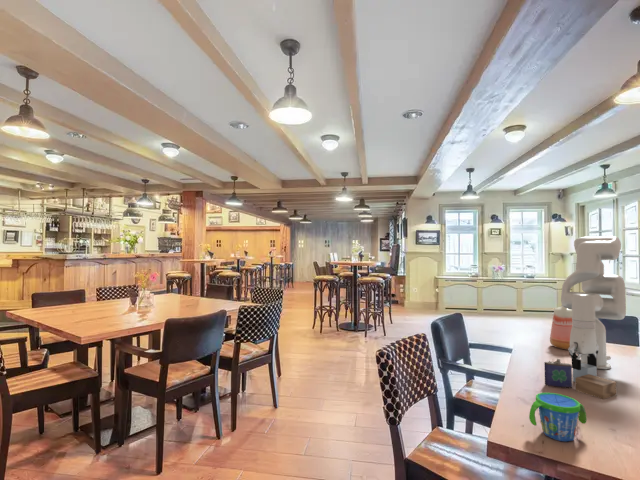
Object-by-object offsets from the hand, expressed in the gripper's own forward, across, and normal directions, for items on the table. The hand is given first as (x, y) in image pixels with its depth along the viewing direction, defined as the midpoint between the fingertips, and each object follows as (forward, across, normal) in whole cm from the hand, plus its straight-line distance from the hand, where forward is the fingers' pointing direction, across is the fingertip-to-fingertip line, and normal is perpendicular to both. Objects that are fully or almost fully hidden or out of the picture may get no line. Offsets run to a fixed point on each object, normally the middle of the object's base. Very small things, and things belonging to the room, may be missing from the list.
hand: (584, 368), depth 142 cm
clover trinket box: (+7, +13, -2) cm, 15 cm away
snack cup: (+8, +51, +24) cm, 57 cm away
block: (+6, +6, +8) cm, 12 cm away
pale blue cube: (+6, -1, 0) cm, 6 cm away
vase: (+4, -48, -38) cm, 62 cm away
